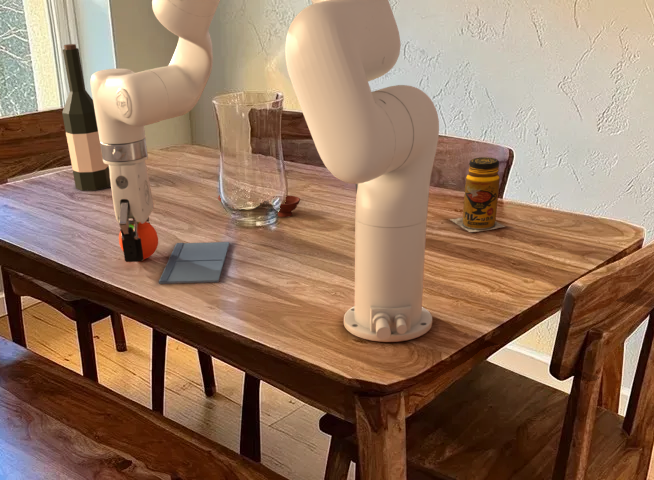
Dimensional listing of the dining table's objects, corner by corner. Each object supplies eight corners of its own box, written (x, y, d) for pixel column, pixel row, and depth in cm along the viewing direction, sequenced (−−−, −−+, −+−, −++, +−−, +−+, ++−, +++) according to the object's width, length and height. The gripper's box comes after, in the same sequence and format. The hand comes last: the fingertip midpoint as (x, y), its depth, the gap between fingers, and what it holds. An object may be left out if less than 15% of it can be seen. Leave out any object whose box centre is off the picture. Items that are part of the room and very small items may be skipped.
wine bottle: (74, 183, 188) (48, 44, 172) (109, 179, 190) (87, 41, 173) (77, 192, 181) (51, 48, 165) (113, 188, 183) (91, 45, 167)
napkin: (218, 282, 130) (218, 279, 130) (158, 283, 131) (158, 281, 130) (229, 243, 146) (229, 241, 146) (176, 245, 147) (176, 242, 146)
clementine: (152, 268, 137) (146, 228, 133) (114, 267, 138) (107, 227, 135) (165, 252, 144) (160, 213, 140) (129, 251, 145) (123, 213, 141)
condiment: (470, 233, 145) (476, 166, 138) (448, 220, 152) (453, 156, 145) (505, 228, 146) (513, 161, 140) (482, 215, 153) (488, 151, 147)
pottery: (245, 195, 173) (244, 174, 170) (315, 210, 161) (315, 188, 159) (207, 208, 166) (205, 187, 163) (277, 225, 154) (276, 202, 152)
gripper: (136, 163, 123) (151, 269, 133) (155, 138, 138) (168, 236, 147) (89, 164, 124) (107, 270, 133) (113, 140, 139) (128, 237, 148)
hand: (139, 252), depth 140 cm, fingers closed on clementine, 8 cm apart
